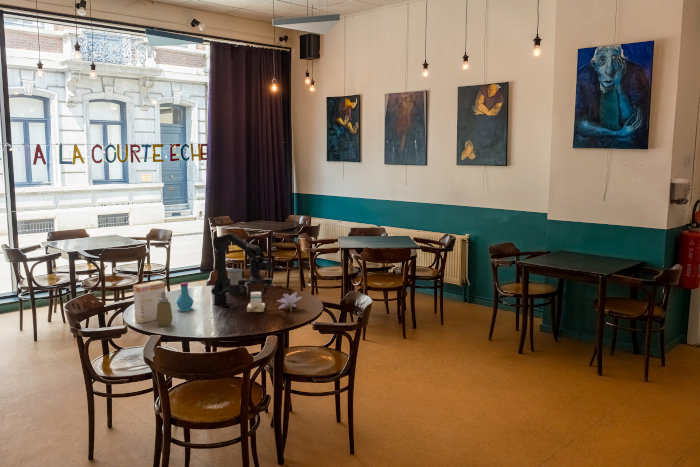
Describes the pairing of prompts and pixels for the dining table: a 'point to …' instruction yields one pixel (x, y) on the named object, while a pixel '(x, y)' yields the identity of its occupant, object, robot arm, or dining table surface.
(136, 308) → the coffeecake box
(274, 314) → the dining table surface
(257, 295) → the teal-striped cream cube
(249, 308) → the block
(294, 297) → the water lily
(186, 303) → the perfume bottle
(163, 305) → the squeeze bottle
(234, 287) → the milk frother
